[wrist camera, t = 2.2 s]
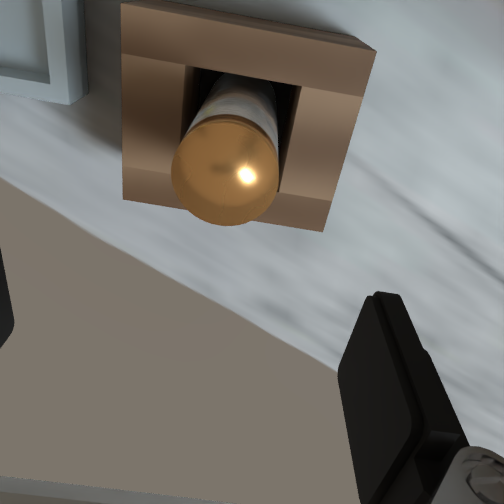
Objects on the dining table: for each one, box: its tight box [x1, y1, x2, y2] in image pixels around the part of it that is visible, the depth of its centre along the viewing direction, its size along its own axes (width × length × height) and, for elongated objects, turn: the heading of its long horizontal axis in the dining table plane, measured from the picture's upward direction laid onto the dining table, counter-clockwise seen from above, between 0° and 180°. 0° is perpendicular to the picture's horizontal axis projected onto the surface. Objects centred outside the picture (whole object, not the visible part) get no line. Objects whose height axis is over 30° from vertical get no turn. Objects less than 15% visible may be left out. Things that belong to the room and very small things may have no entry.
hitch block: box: [121, 0, 377, 232], centre depth 24 cm, size 10×12×6 cm
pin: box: [171, 72, 279, 226], centre depth 22 cm, size 4×4×12 cm
